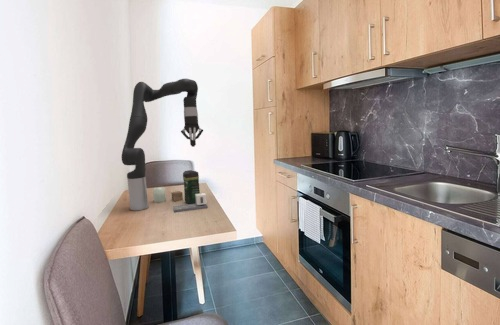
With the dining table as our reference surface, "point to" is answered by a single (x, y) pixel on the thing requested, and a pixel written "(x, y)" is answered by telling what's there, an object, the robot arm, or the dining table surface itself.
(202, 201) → the counting knob
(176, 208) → the counting rail
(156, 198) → the pale green rounded block
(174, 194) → the walnut block
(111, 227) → the dining table surface
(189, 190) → the coffee jar
